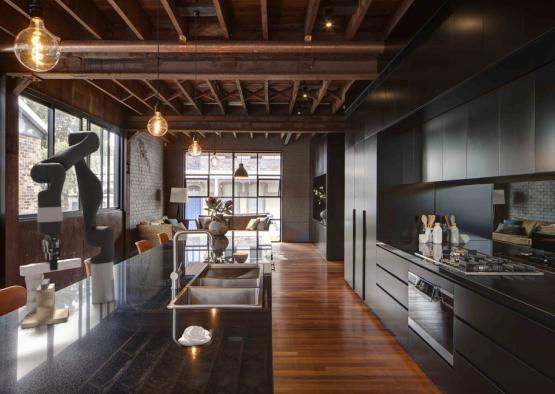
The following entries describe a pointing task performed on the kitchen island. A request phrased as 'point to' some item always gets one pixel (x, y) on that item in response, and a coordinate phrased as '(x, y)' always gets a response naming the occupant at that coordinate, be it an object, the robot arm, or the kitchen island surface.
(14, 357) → the kitchen island surface
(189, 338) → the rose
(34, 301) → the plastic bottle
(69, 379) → the kitchen island surface
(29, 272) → the aluminium bar
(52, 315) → the balance stand
